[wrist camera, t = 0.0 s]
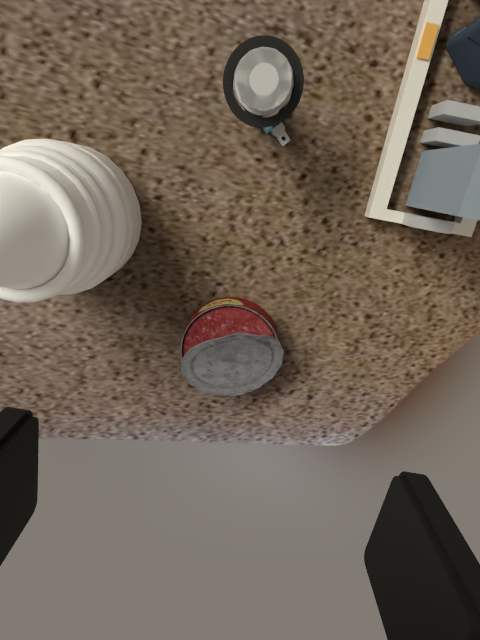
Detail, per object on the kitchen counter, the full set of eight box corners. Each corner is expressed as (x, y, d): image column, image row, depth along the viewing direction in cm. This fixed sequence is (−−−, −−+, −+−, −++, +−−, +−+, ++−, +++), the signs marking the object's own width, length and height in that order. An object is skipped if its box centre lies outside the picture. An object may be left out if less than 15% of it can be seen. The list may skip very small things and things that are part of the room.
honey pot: (165, 249, 40) (105, 305, 23) (55, 300, 42) (-75, 387, 25) (97, 116, 36) (-36, 66, 19) (-22, 180, 38) (-236, 186, 21)
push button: (309, 125, 36) (332, 109, 27) (260, 163, 37) (264, 160, 28) (267, 54, 34) (275, 9, 25) (216, 96, 35) (205, 68, 26)
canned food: (270, 301, 47) (323, 340, 39) (234, 377, 49) (278, 428, 41) (183, 272, 40) (226, 310, 32) (146, 361, 42) (178, 418, 34)
